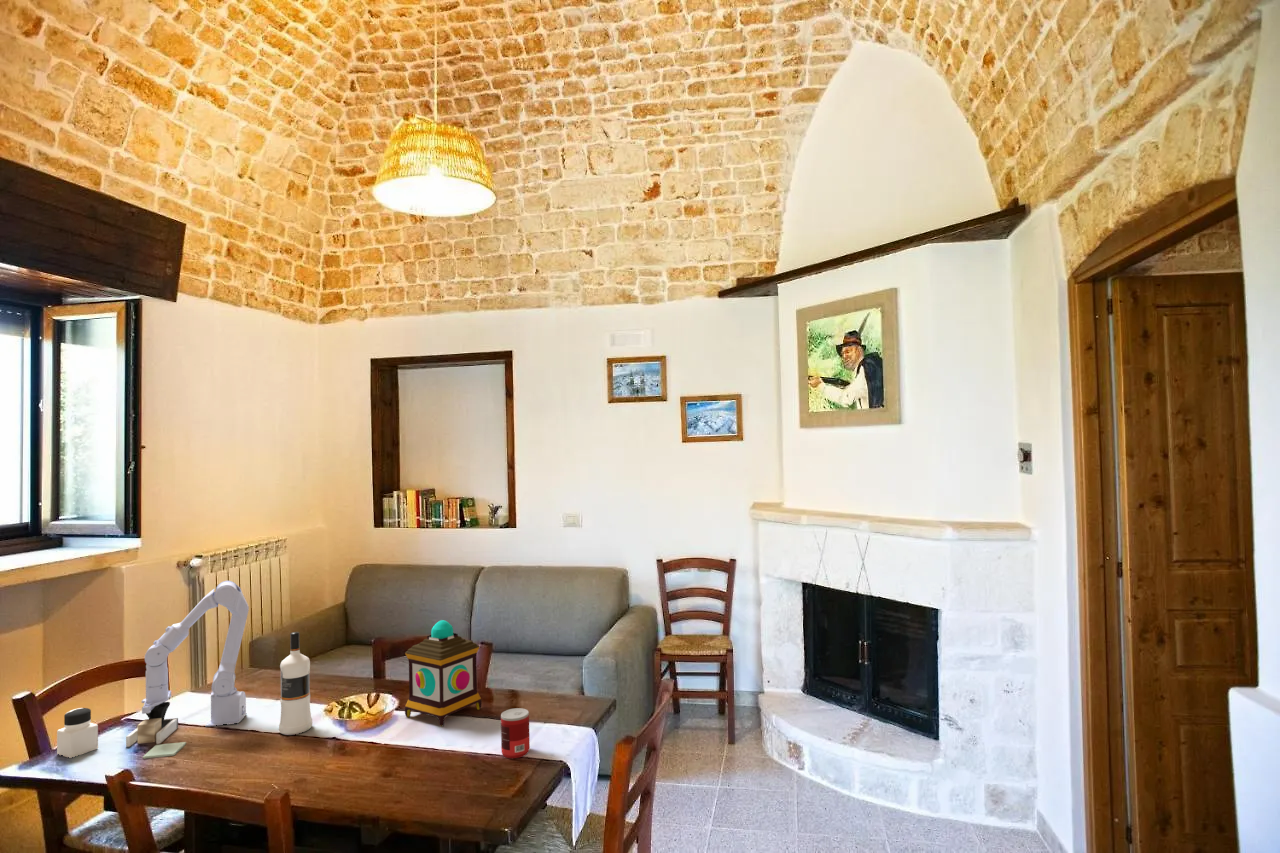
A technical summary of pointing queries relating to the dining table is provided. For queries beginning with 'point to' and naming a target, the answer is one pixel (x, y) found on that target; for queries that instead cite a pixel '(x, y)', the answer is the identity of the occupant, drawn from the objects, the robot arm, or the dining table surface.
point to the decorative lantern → (442, 674)
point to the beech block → (148, 730)
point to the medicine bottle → (77, 734)
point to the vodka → (295, 691)
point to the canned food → (515, 733)
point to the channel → (165, 731)
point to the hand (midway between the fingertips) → (157, 728)
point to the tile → (164, 750)
